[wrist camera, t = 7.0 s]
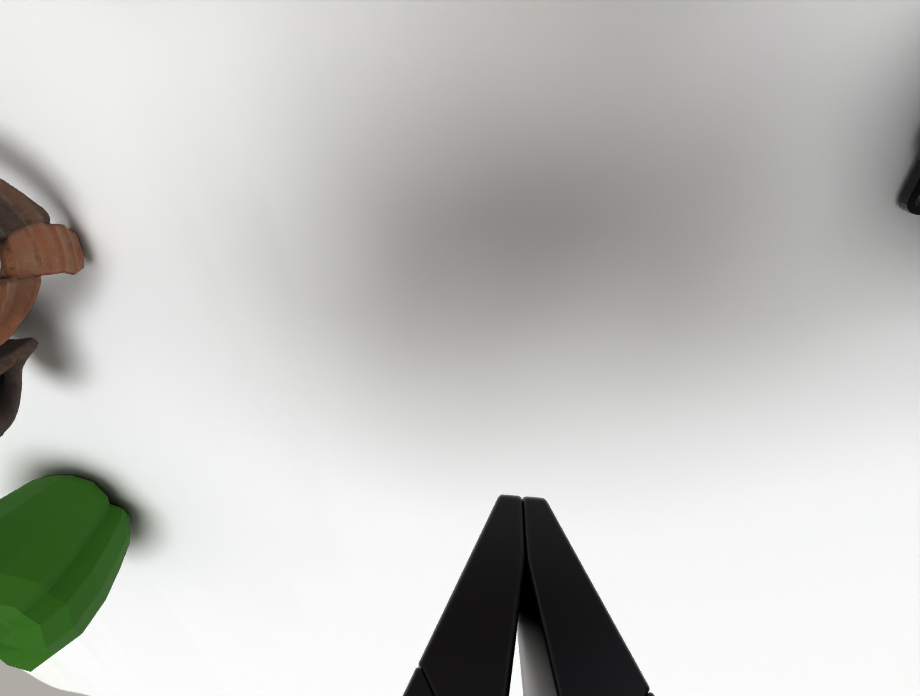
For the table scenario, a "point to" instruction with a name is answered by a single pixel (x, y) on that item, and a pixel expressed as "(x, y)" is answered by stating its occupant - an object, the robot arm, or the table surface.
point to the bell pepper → (55, 564)
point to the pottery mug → (25, 282)
